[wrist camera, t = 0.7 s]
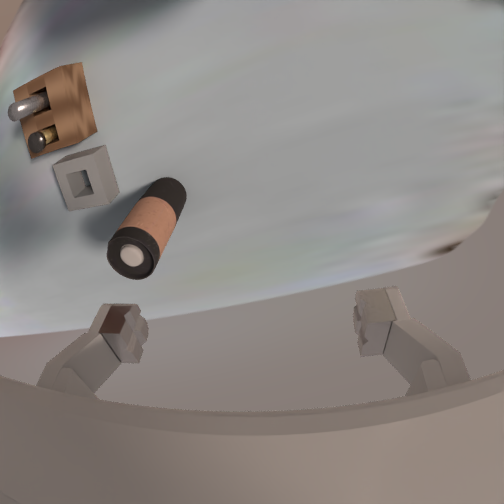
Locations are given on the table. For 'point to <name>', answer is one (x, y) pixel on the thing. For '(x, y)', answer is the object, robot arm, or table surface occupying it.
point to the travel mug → (147, 230)
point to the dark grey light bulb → (41, 139)
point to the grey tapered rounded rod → (28, 106)
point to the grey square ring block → (98, 174)
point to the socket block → (59, 107)
